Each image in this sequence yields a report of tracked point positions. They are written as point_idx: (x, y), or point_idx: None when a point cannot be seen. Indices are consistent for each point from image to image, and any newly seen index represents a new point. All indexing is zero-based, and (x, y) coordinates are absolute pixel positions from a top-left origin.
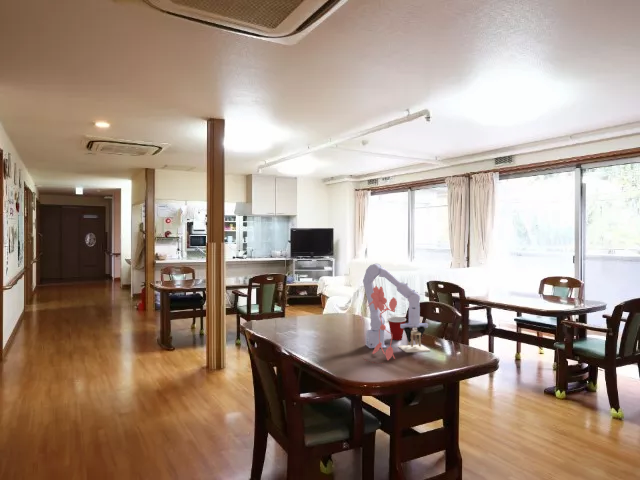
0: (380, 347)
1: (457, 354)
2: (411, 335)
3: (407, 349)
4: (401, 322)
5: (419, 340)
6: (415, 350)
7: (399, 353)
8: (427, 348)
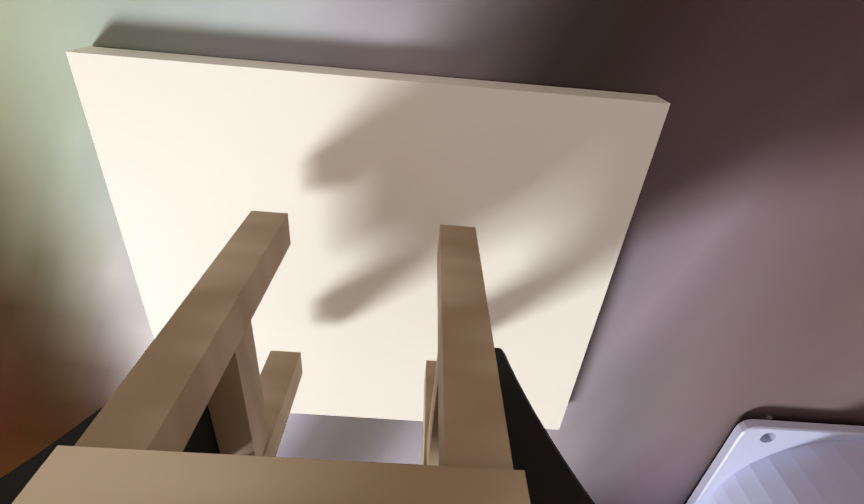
0: (844, 427)
1: None
2: (511, 467)
3: (566, 204)
4: None
5: (231, 297)
6: (445, 82)
7: (845, 59)
8: (115, 173)
